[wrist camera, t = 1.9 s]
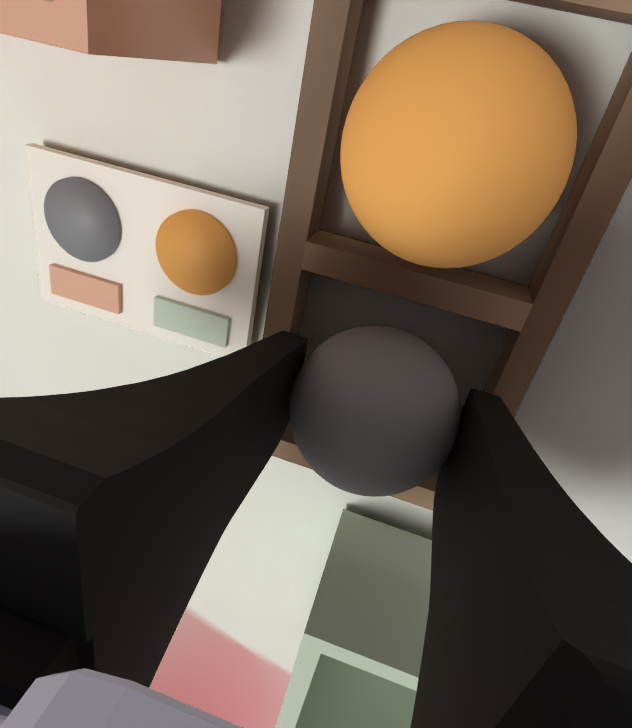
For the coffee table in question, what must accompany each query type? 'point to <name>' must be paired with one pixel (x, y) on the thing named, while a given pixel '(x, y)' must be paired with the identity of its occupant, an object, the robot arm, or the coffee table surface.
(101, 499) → the robot arm
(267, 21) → the coffee table surface
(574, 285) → the rack
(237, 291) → the card
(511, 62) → the orange ball
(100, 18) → the pink open box
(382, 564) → the sage open box
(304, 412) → the grey ball
